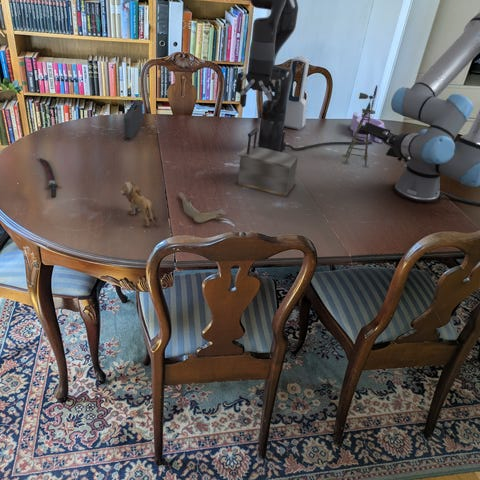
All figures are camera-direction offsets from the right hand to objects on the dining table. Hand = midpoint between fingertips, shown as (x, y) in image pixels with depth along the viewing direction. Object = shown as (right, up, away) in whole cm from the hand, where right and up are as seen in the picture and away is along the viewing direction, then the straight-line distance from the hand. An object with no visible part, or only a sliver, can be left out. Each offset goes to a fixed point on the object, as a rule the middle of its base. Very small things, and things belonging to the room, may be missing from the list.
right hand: (374, 140), depth 159 cm
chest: (-37, -15, +3) cm, 40 cm away
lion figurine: (-75, -27, -22) cm, 83 cm away
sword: (-108, -14, -7) cm, 109 cm away
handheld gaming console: (-90, +11, +34) cm, 97 cm away
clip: (+12, +15, +57) cm, 60 cm away
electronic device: (-23, +19, +57) cm, 64 cm away
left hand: (-41, +8, -8) cm, 42 cm away
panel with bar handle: (-36, -6, -2) cm, 37 cm away
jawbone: (-58, -24, -15) cm, 64 cm away
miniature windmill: (+1, -2, +29) cm, 29 cm away
